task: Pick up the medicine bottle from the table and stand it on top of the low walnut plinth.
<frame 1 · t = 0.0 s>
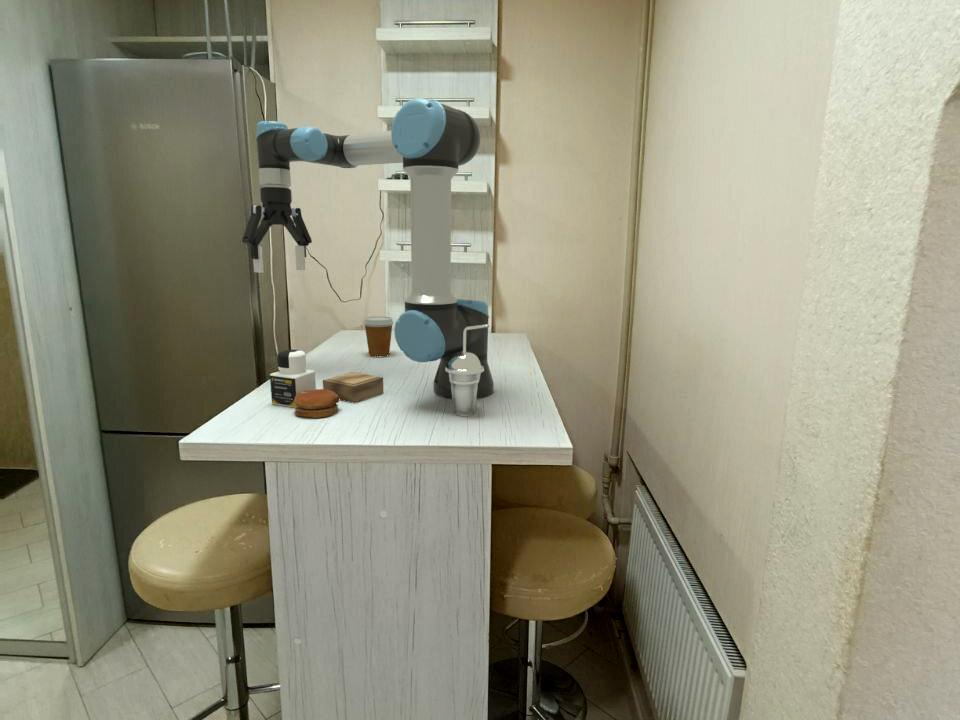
hand: (280, 271, 147), 28 cm above the table, tool pointing down, fingers open, 13 cm apart
disposable coffee cup: (379, 355, 179), on the table
medicine bottle: (294, 402, 128), on the table
plinth: (353, 394, 135), on the table
cup with straw: (465, 414, 122), on the table
burger: (316, 413, 121), on the table
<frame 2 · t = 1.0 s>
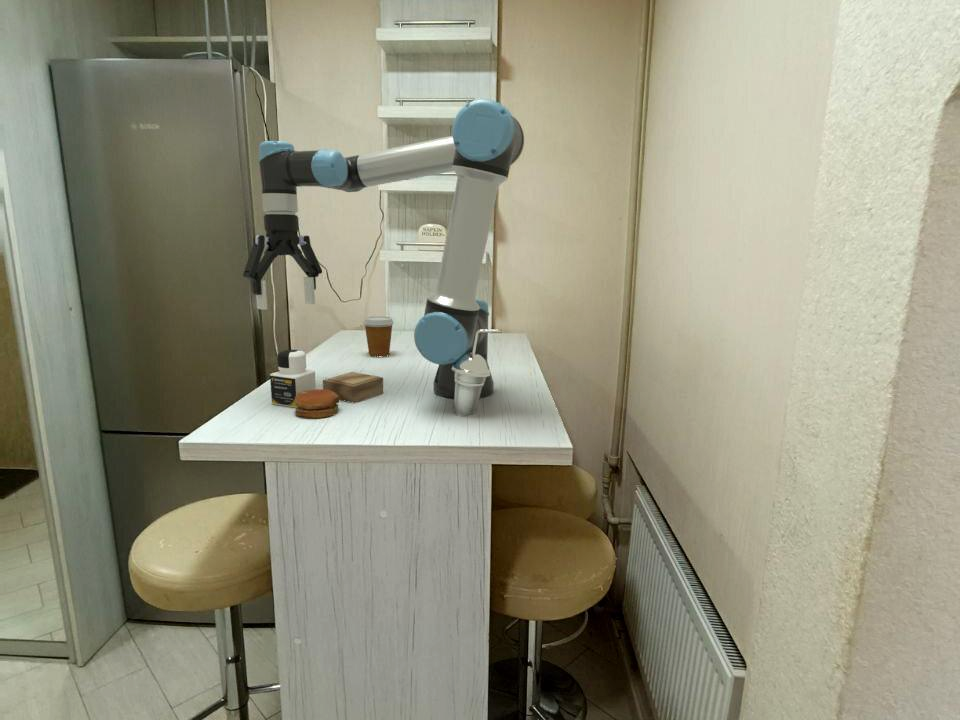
hand: (287, 306, 132), 21 cm above the table, tool pointing down, fingers open, 13 cm apart
cup with straw: (464, 415, 122), on the table, touching arm
everything else where it was.
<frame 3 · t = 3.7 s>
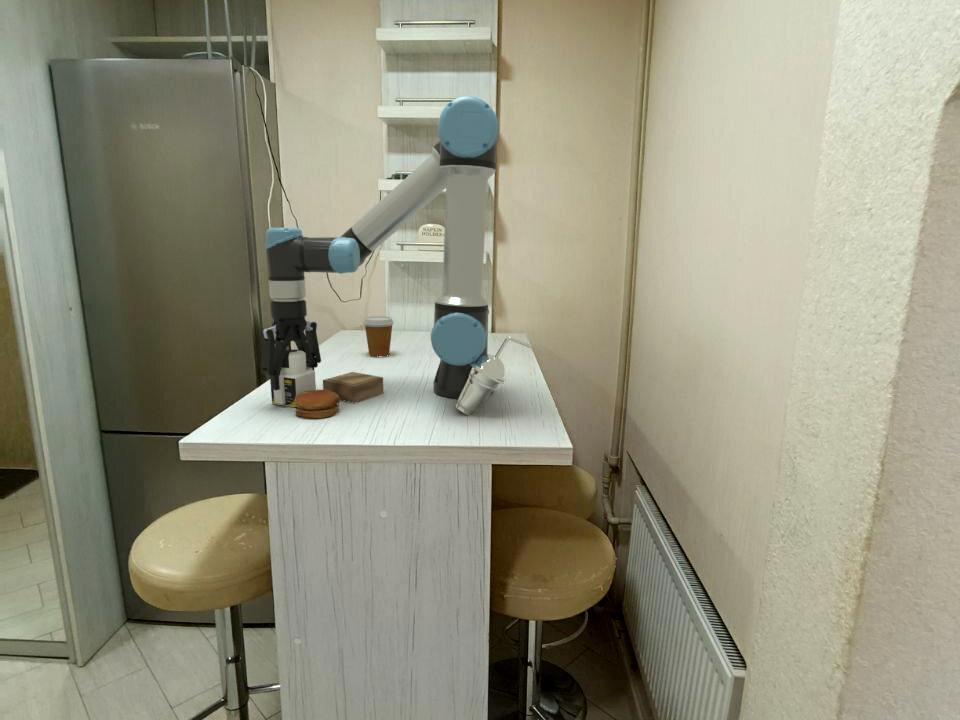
hand: (294, 398, 128), 1 cm above the table, tool pointing down, fingers closed on medicine bottle, 8 cm apart
medicine bottle: (294, 402, 128), on the table, touching gripper
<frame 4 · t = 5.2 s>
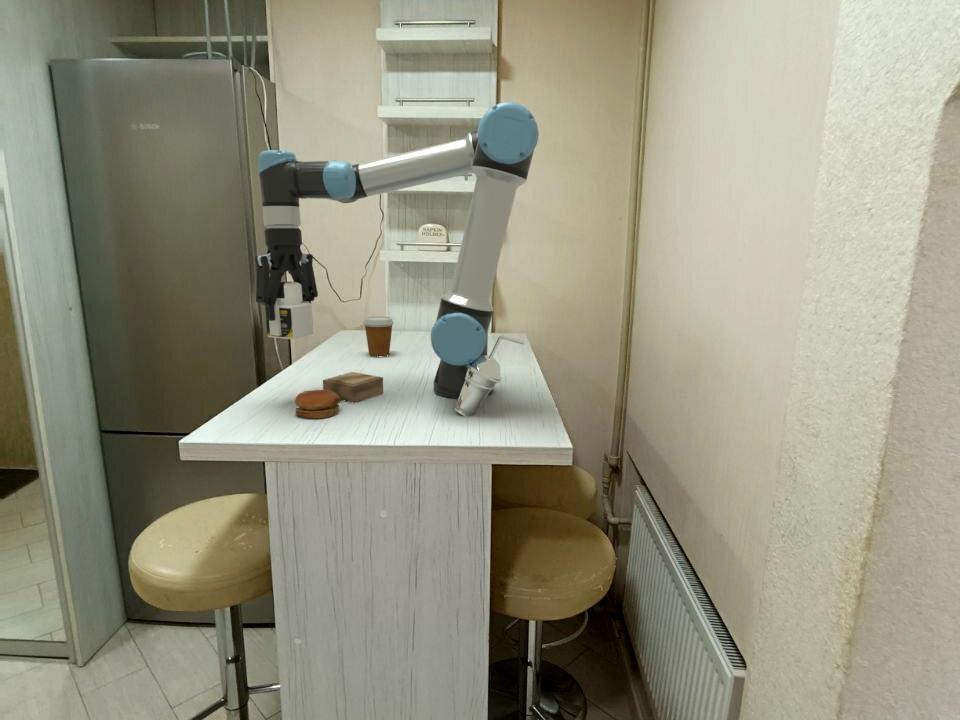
hand: (291, 332, 125), 16 cm above the table, tool pointing down, fingers closed on medicine bottle, 8 cm apart
medicine bottle: (290, 336, 125), point 15 cm above the table, touching gripper
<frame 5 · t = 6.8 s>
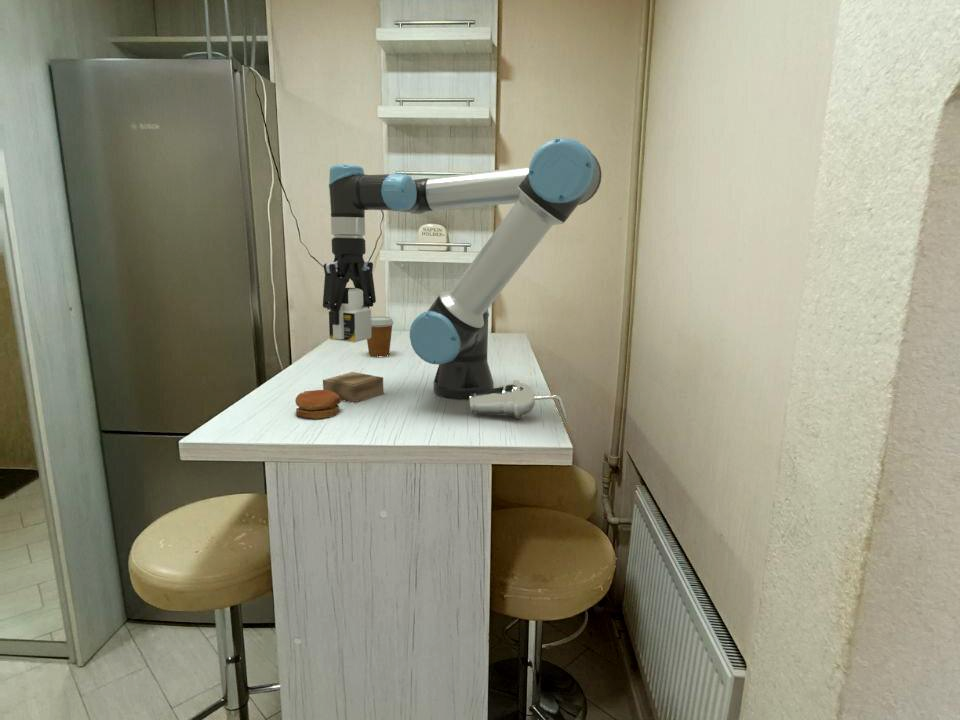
hand: (351, 335, 131), 14 cm above the table, tool pointing down, fingers closed on medicine bottle, 8 cm apart
medicine bottle: (350, 339, 132), point 13 cm above the table, touching gripper
cup with straw: (471, 403, 121), point 2 cm above the table
everything else where it was.
when the fingers open (7 cm above the table, at t = 8.5 s): medicine bottle drops 2 cm, resting on plinth.
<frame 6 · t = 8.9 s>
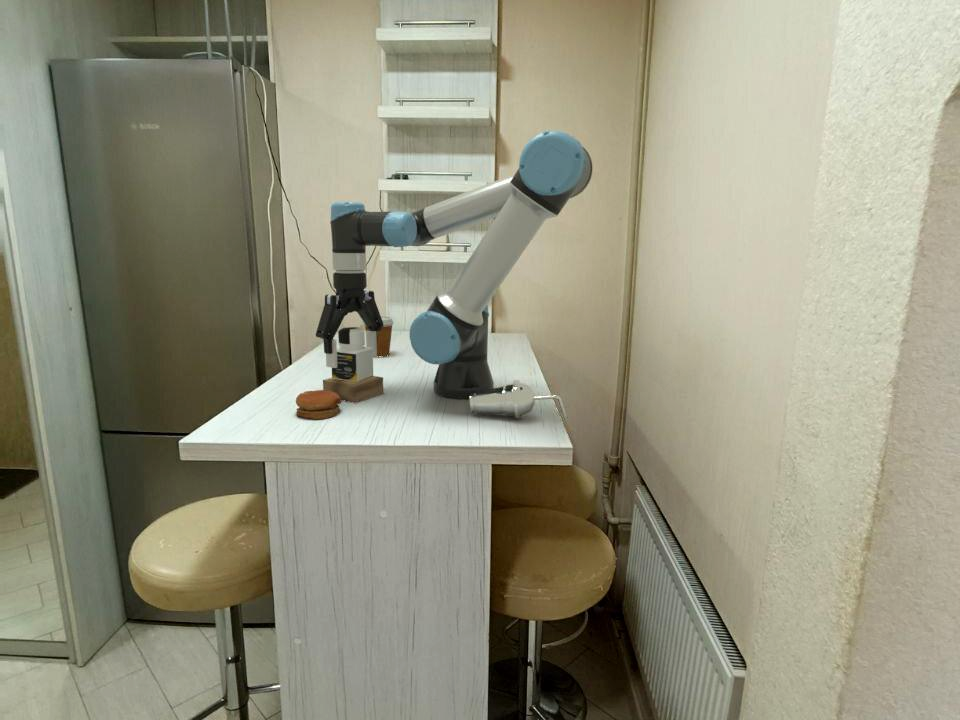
hand: (352, 361, 133), 8 cm above the table, tool pointing down, fingers open, 13 cm apart
medicine bottle: (353, 378, 134), point 4 cm above the table, touching plinth
everything else where it was.
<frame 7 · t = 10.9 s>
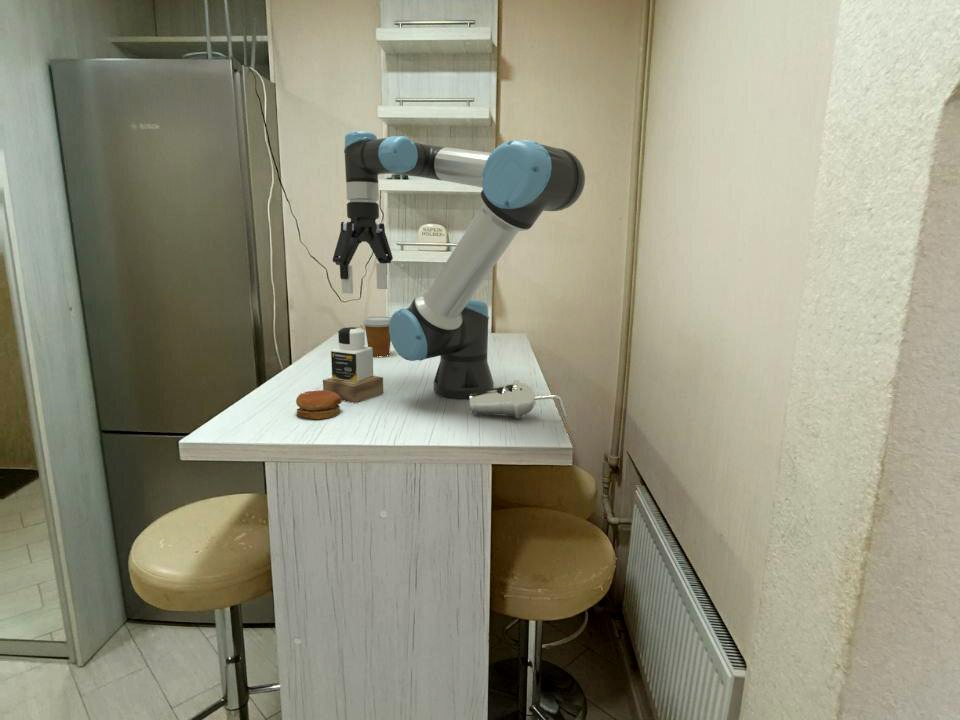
hand: (365, 291, 138), 24 cm above the table, tool pointing down, fingers open, 13 cm apart
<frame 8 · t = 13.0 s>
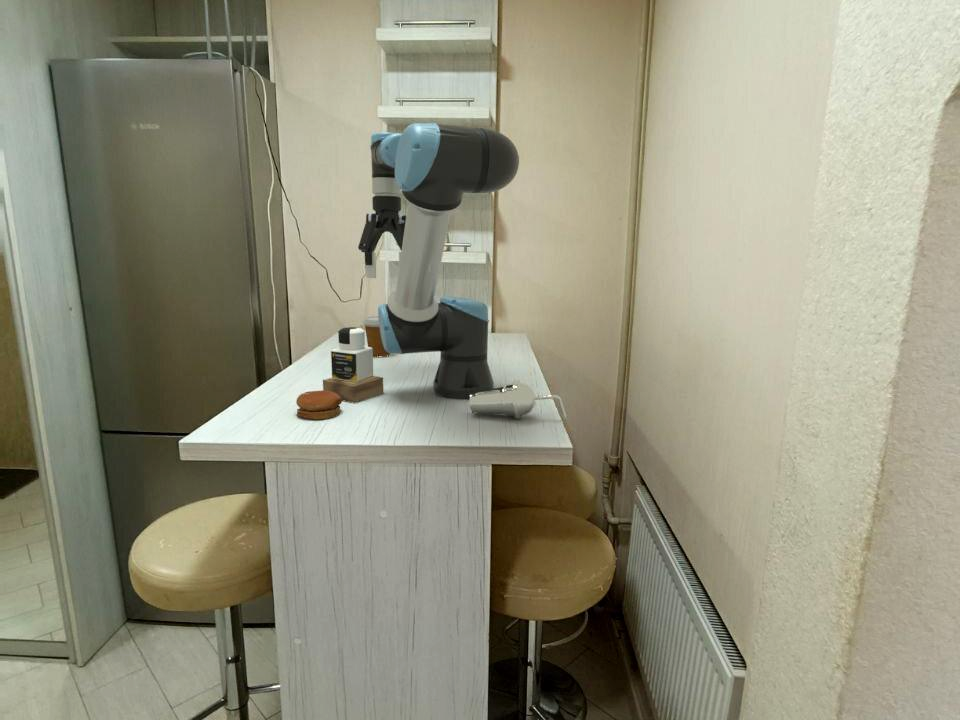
hand: (388, 276, 152), 27 cm above the table, tool pointing down, fingers open, 13 cm apart
at the end: medicine bottle inside the target area on the plinth (0.1 cm from its centre), point 4.1 cm above the plinth's base; medicine bottle tilted 0°; the gripper is holding nothing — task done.
